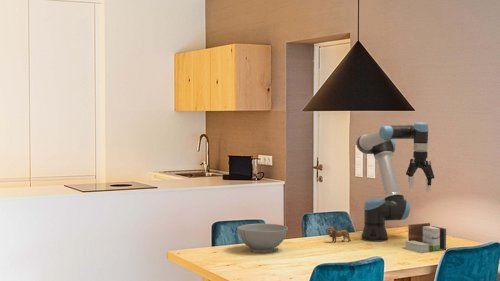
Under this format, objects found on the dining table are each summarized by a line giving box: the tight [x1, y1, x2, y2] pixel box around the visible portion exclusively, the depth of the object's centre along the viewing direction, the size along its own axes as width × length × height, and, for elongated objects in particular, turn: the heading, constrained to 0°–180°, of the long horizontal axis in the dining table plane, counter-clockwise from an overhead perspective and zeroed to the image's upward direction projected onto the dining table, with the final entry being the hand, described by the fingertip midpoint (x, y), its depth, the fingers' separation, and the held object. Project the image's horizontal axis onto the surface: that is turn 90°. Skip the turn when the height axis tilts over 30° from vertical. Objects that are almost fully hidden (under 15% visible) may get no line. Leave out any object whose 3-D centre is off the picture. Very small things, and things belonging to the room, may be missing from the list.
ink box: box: [423, 225, 441, 252], centre depth 382 cm, size 9×5×12 cm, turn 26°
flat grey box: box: [404, 240, 430, 254], centre depth 379 cm, size 12×6×4 cm, turn 28°
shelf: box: [402, 222, 445, 254], centre depth 383 cm, size 16×19×13 cm
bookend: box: [430, 225, 448, 251], centre depth 386 cm, size 10×2×11 cm, turn 28°
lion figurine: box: [326, 226, 352, 244], centre depth 409 cm, size 15×5×9 cm, turn 108°
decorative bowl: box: [236, 223, 289, 253], centre depth 385 cm, size 27×27×12 cm
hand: (419, 189), depth 394 cm, fingers open, 13 cm apart
